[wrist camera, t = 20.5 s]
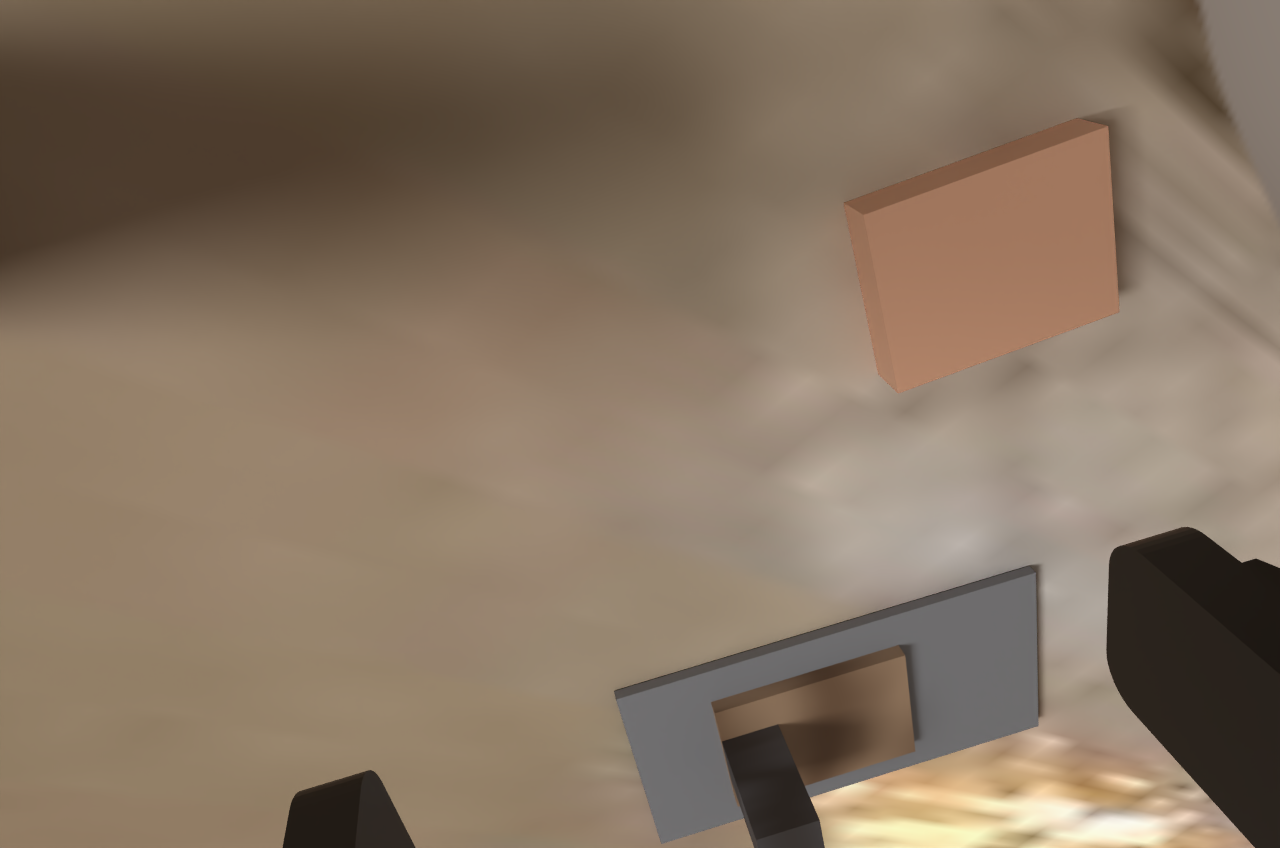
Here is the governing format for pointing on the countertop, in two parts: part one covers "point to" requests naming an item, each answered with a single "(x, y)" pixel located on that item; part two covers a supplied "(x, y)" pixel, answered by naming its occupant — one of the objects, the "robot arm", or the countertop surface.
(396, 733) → the countertop surface
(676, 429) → the countertop surface
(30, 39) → the countertop surface
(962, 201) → the tile
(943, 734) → the mat
